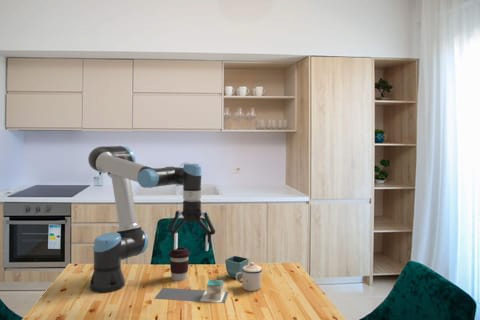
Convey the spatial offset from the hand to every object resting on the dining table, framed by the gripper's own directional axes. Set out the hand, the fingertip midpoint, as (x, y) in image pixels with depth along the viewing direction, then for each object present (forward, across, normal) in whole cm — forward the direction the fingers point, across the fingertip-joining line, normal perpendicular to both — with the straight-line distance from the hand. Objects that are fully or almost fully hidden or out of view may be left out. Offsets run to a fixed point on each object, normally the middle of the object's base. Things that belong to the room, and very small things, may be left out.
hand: (191, 249), depth 165 cm
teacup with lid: (+21, +24, +14) cm, 34 cm away
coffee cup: (+21, -10, +19) cm, 30 cm away
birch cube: (+14, +10, 0) cm, 17 cm away
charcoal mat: (+21, +1, 0) cm, 21 cm away
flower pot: (+21, +17, +27) cm, 38 cm away
